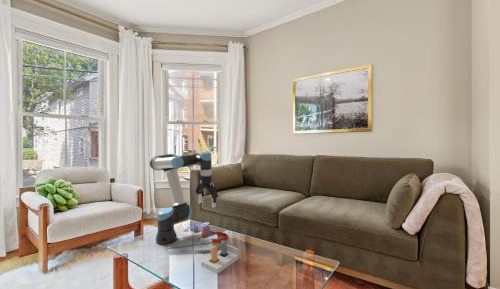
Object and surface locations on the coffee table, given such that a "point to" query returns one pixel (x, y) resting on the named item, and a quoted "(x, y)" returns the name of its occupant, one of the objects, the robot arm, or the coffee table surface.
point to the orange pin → (214, 254)
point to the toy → (219, 239)
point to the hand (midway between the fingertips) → (206, 205)
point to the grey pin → (223, 248)
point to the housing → (221, 260)
